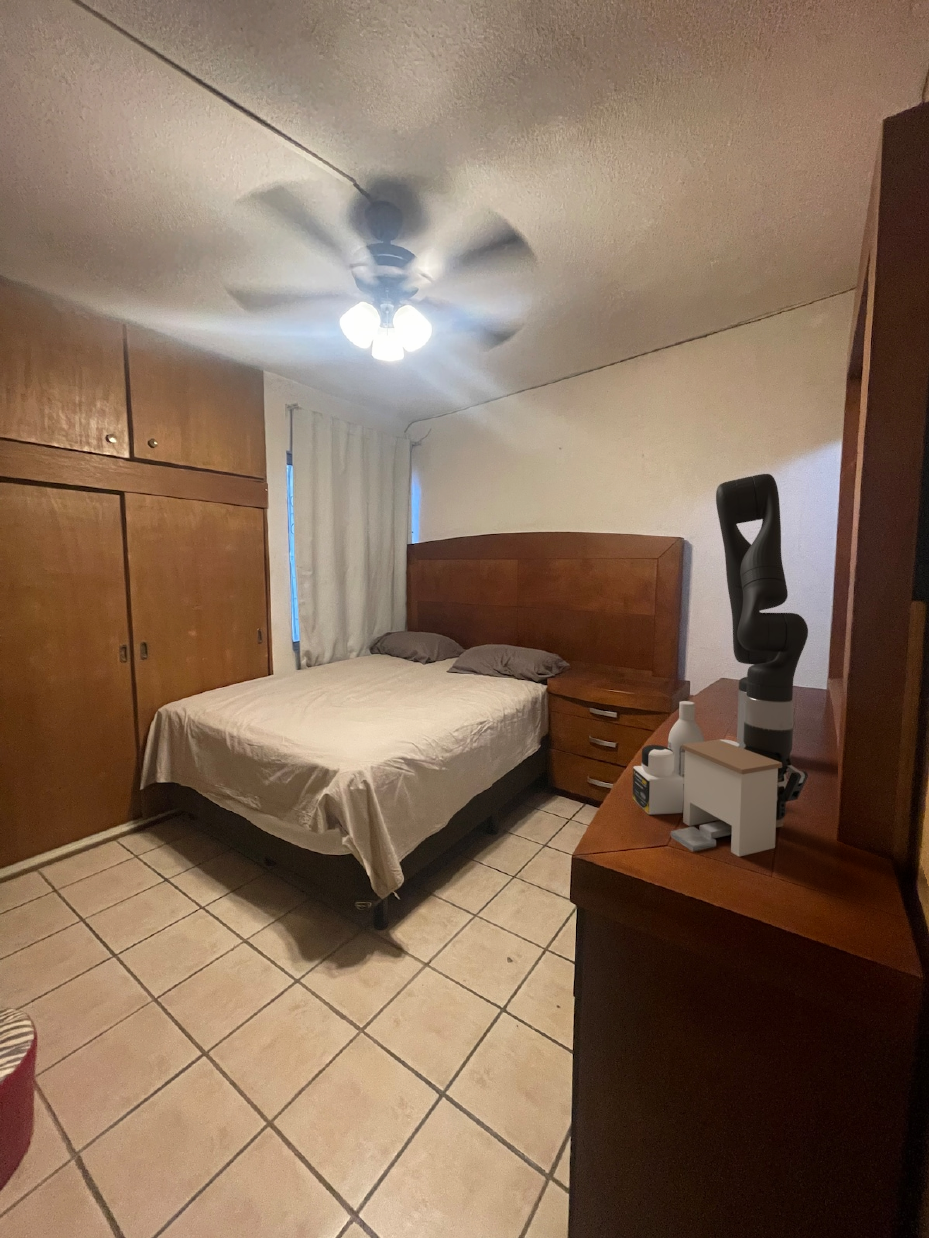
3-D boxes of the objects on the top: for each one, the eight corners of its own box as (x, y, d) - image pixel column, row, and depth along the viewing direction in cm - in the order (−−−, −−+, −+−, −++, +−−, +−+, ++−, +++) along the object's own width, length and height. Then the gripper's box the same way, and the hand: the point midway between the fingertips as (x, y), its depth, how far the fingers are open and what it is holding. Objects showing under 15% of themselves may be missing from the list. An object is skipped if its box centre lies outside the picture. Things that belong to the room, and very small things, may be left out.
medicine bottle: (631, 798, 98) (632, 742, 97) (664, 797, 98) (666, 741, 98) (648, 815, 91) (649, 754, 90) (683, 813, 91) (684, 753, 91)
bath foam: (710, 798, 98) (713, 704, 96) (687, 805, 95) (690, 708, 93) (682, 786, 104) (684, 697, 103) (659, 792, 101) (661, 700, 100)
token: (693, 834, 85) (693, 826, 84) (715, 848, 80) (716, 840, 80) (670, 839, 83) (670, 831, 83) (692, 854, 78) (692, 845, 78)
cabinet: (716, 814, 91) (718, 739, 90) (778, 848, 79) (782, 762, 78) (679, 821, 88) (681, 744, 87) (739, 858, 76) (742, 769, 75)
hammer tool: (762, 815, 89) (764, 769, 88) (782, 825, 85) (785, 777, 85) (696, 829, 84) (697, 780, 83) (714, 841, 80) (716, 790, 79)
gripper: (823, 731, 80) (818, 828, 81) (748, 710, 93) (745, 794, 94) (791, 735, 77) (787, 836, 78) (719, 714, 91) (716, 799, 92)
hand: (764, 812), depth 86 cm, fingers closed on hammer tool, 4 cm apart
